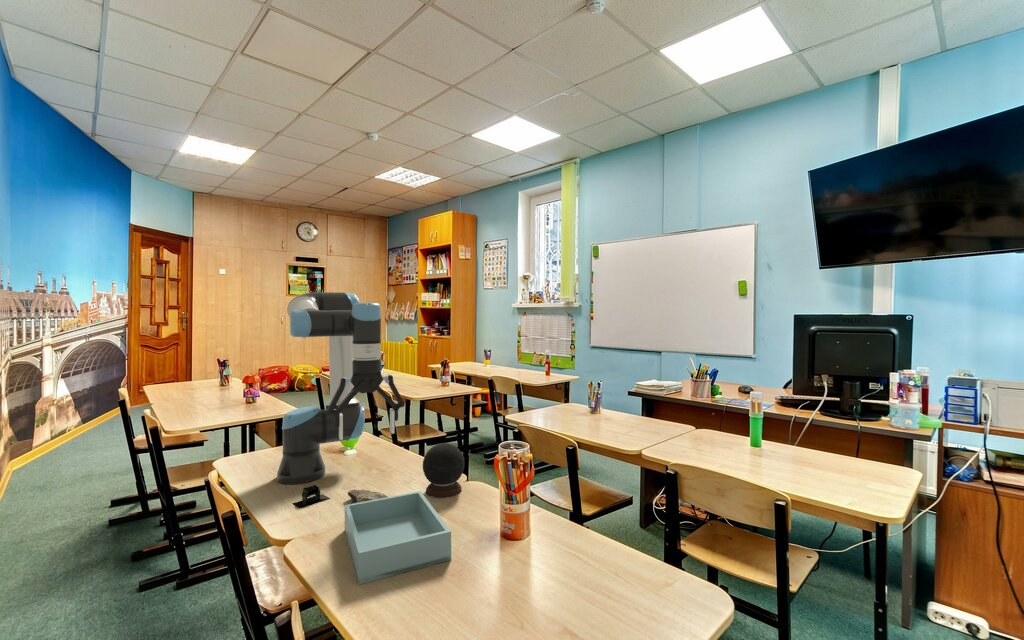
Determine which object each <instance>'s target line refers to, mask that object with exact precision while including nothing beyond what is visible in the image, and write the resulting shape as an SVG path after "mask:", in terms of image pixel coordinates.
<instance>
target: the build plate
mask: <svg viewBox="0 0 1024 640" xmlns="http://www.w3.org/2000/svg"><path fill="white" fill-rule="evenodd" d="M328 500H331V497H329V496H327V495H325V494H323V493H322V494H321V489H320V487H319V486H317V485H315V484H313V485H311V486H307V487H304V488H302V492H301V500H299V501H295V502H293V503H291V504H292V505H293V506H295V508H297V509H299V510H300V509H303V508H306V507H310V506H313V505H315V504H319V503H322V502H325V501H328Z"/></svg>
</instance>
